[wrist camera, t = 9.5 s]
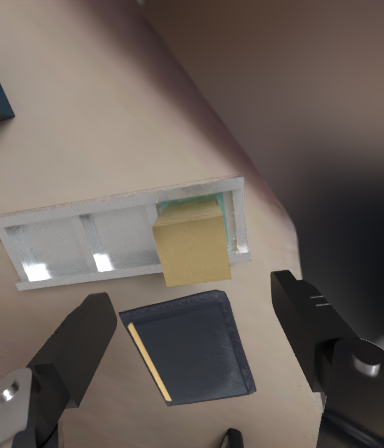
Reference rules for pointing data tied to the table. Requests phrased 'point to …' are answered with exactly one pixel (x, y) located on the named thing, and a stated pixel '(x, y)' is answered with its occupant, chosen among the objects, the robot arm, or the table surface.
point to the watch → (5, 106)
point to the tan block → (192, 242)
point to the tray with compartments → (111, 233)
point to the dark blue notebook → (191, 348)
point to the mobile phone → (233, 439)
